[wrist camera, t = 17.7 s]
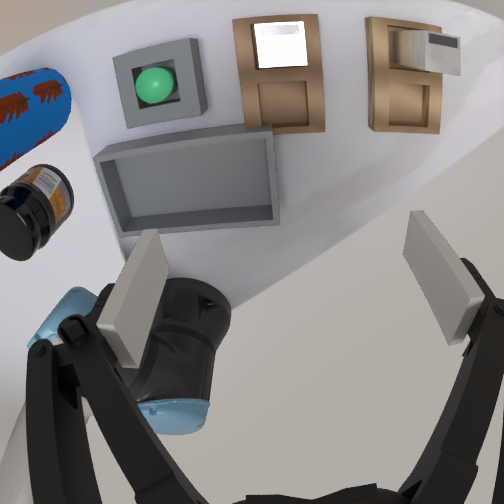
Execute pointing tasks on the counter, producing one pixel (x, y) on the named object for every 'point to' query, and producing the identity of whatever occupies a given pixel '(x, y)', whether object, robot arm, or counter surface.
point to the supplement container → (33, 210)
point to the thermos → (31, 111)
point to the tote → (192, 180)
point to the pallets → (311, 82)
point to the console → (184, 97)
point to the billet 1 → (281, 44)
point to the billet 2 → (425, 50)
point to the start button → (156, 84)
